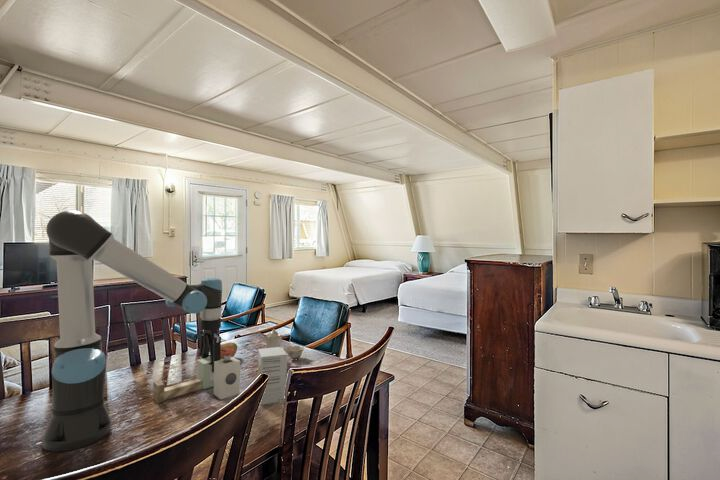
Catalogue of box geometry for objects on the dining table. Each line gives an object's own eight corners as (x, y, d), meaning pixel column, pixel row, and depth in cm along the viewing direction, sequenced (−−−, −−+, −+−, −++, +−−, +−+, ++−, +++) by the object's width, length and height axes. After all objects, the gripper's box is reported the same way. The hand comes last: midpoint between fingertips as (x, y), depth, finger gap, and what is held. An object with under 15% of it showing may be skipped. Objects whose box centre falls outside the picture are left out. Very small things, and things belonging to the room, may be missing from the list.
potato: (243, 357, 164) (243, 341, 164) (221, 367, 151) (221, 349, 151) (227, 354, 168) (227, 338, 168) (204, 364, 155) (204, 346, 155)
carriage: (203, 389, 128) (203, 364, 128) (196, 384, 132) (197, 359, 132) (221, 383, 134) (221, 359, 134) (214, 379, 138) (215, 355, 138)
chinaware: (281, 382, 141) (286, 342, 140) (245, 374, 144) (249, 335, 143) (305, 359, 168) (309, 326, 168) (274, 353, 171) (278, 320, 171)
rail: (157, 403, 118) (158, 385, 117) (153, 398, 121) (153, 381, 121) (229, 381, 137) (230, 366, 137) (224, 377, 140) (224, 363, 140)
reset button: (224, 364, 123) (224, 352, 123) (218, 361, 126) (218, 349, 126) (235, 361, 126) (236, 349, 126) (230, 358, 129) (230, 347, 129)
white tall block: (221, 399, 121) (222, 366, 121) (213, 394, 125) (214, 361, 125) (240, 393, 126) (240, 361, 126) (231, 388, 130) (232, 356, 130)
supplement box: (256, 393, 126) (257, 348, 126) (281, 390, 130) (282, 345, 130) (259, 405, 117) (260, 356, 117) (286, 401, 121) (287, 353, 121)
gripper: (231, 321, 129) (229, 382, 129) (209, 312, 142) (208, 368, 142) (211, 324, 124) (210, 387, 124) (191, 315, 137) (189, 373, 137)
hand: (209, 377), depth 133 cm, fingers closed on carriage, 6 cm apart
